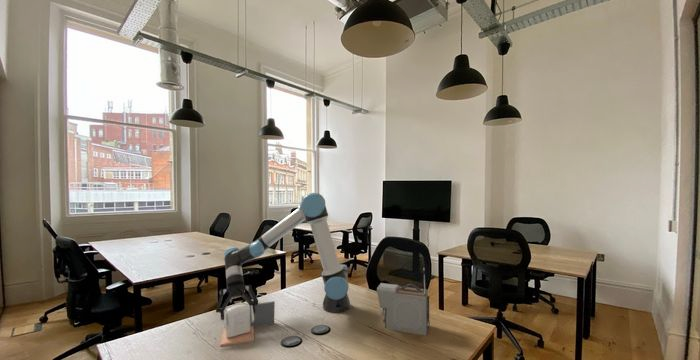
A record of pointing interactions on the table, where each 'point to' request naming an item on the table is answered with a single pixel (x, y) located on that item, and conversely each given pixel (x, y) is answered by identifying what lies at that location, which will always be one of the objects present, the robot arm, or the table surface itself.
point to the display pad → (238, 338)
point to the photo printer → (238, 320)
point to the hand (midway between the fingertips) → (239, 323)
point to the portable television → (404, 307)
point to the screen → (263, 314)
